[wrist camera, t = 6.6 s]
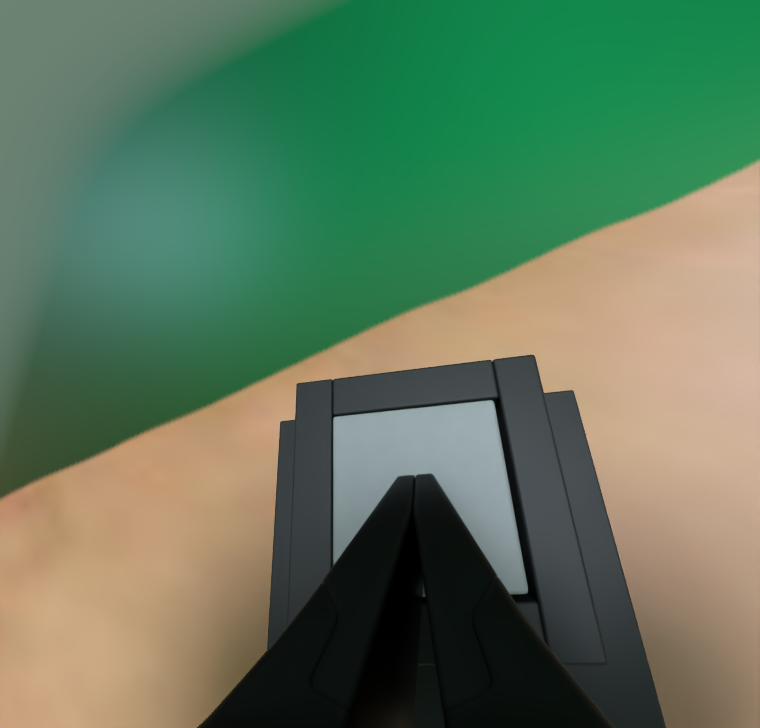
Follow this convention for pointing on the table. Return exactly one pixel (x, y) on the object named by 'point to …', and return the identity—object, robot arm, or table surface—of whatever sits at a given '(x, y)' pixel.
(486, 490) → the pad
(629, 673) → the stepped grey pedestal
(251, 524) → the table surface
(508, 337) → the table surface
